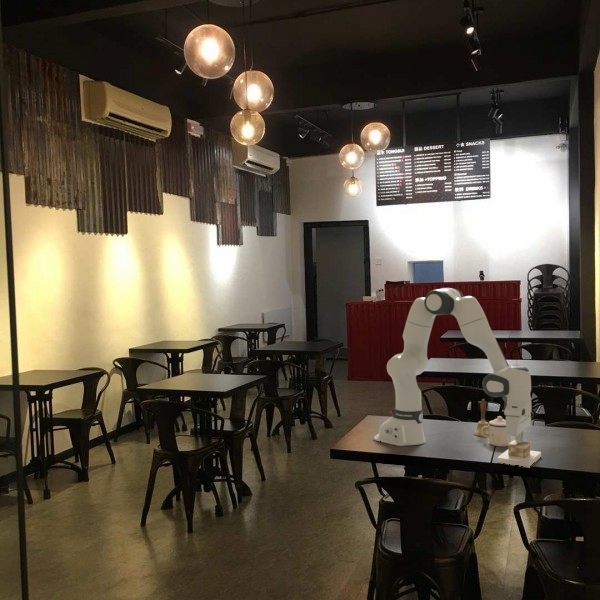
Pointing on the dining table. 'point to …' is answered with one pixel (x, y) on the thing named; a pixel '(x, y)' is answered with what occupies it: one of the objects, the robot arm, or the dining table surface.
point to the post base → (519, 459)
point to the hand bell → (482, 421)
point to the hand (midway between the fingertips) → (519, 442)
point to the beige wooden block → (519, 449)
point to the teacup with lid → (497, 432)
